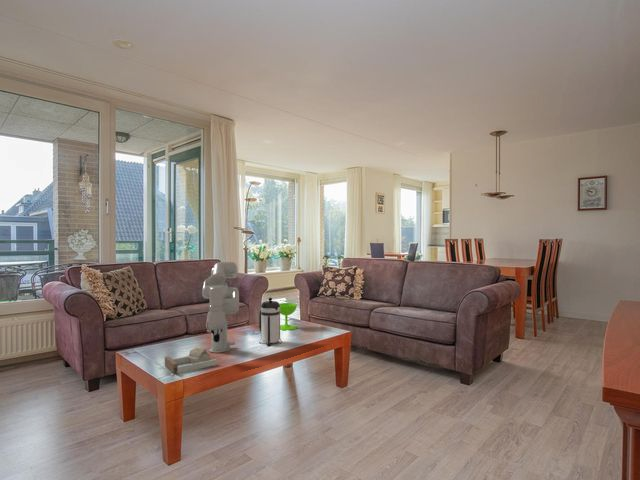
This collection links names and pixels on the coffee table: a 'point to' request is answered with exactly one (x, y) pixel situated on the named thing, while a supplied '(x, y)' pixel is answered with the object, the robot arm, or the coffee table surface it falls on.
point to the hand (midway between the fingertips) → (216, 341)
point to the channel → (172, 365)
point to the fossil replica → (198, 355)
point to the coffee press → (270, 322)
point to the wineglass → (287, 310)
